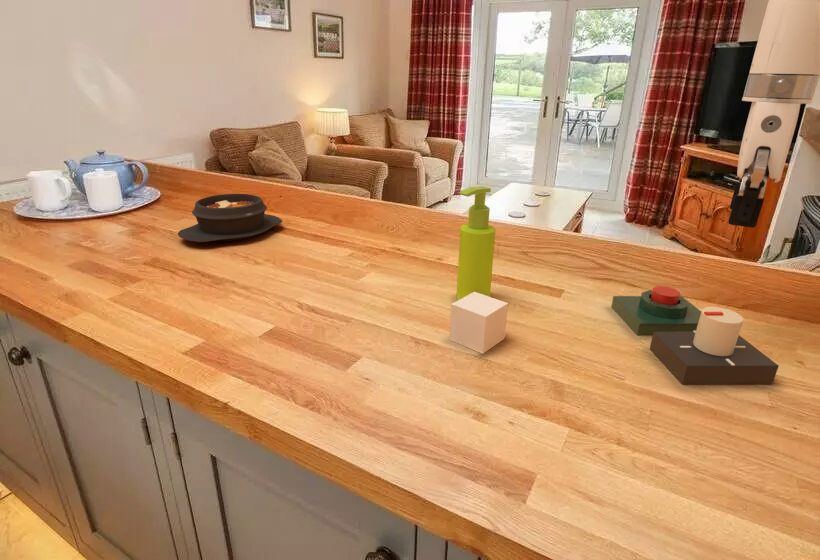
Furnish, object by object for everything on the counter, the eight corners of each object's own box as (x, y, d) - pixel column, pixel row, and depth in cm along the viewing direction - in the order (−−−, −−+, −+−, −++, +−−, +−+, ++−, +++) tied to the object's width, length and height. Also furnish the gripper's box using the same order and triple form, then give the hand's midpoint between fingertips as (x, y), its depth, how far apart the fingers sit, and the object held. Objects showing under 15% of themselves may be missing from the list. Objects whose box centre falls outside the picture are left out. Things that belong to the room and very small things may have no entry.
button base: (679, 307, 85) (684, 286, 84) (713, 335, 76) (719, 312, 75) (611, 307, 85) (615, 286, 83) (636, 335, 76) (642, 312, 74)
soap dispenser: (445, 298, 87) (450, 187, 79) (473, 289, 91) (480, 182, 83) (468, 310, 83) (476, 193, 75) (496, 300, 87) (506, 188, 79)
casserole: (204, 256, 105) (198, 218, 102) (164, 237, 116) (158, 203, 113) (298, 230, 123) (296, 197, 120) (256, 217, 134) (252, 186, 131)
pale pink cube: (449, 340, 74) (451, 303, 72) (471, 326, 78) (474, 291, 76) (482, 354, 70) (486, 316, 68) (504, 338, 74) (508, 302, 72)
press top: (669, 295, 81) (672, 286, 80) (682, 306, 77) (685, 296, 77) (646, 295, 81) (648, 286, 80) (657, 306, 77) (660, 296, 77)
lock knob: (719, 338, 69) (729, 304, 67) (741, 356, 65) (752, 321, 63) (685, 338, 69) (694, 304, 67) (705, 356, 65) (716, 320, 63)
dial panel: (729, 349, 72) (735, 330, 71) (772, 385, 64) (779, 364, 63) (649, 349, 72) (653, 330, 71) (681, 385, 64) (687, 364, 63)
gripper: (823, 92, 55) (776, 237, 62) (807, 90, 69) (770, 209, 75) (745, 90, 59) (708, 227, 66) (744, 88, 72) (714, 202, 79)
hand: (741, 217), depth 71 cm, fingers open, 9 cm apart
